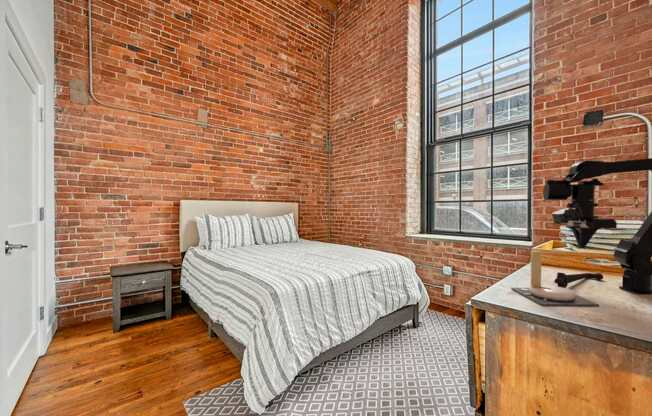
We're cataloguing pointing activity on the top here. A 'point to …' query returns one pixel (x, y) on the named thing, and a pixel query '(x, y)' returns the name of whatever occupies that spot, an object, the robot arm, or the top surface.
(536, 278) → the beige stand
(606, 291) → the top surface
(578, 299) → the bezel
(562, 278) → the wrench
